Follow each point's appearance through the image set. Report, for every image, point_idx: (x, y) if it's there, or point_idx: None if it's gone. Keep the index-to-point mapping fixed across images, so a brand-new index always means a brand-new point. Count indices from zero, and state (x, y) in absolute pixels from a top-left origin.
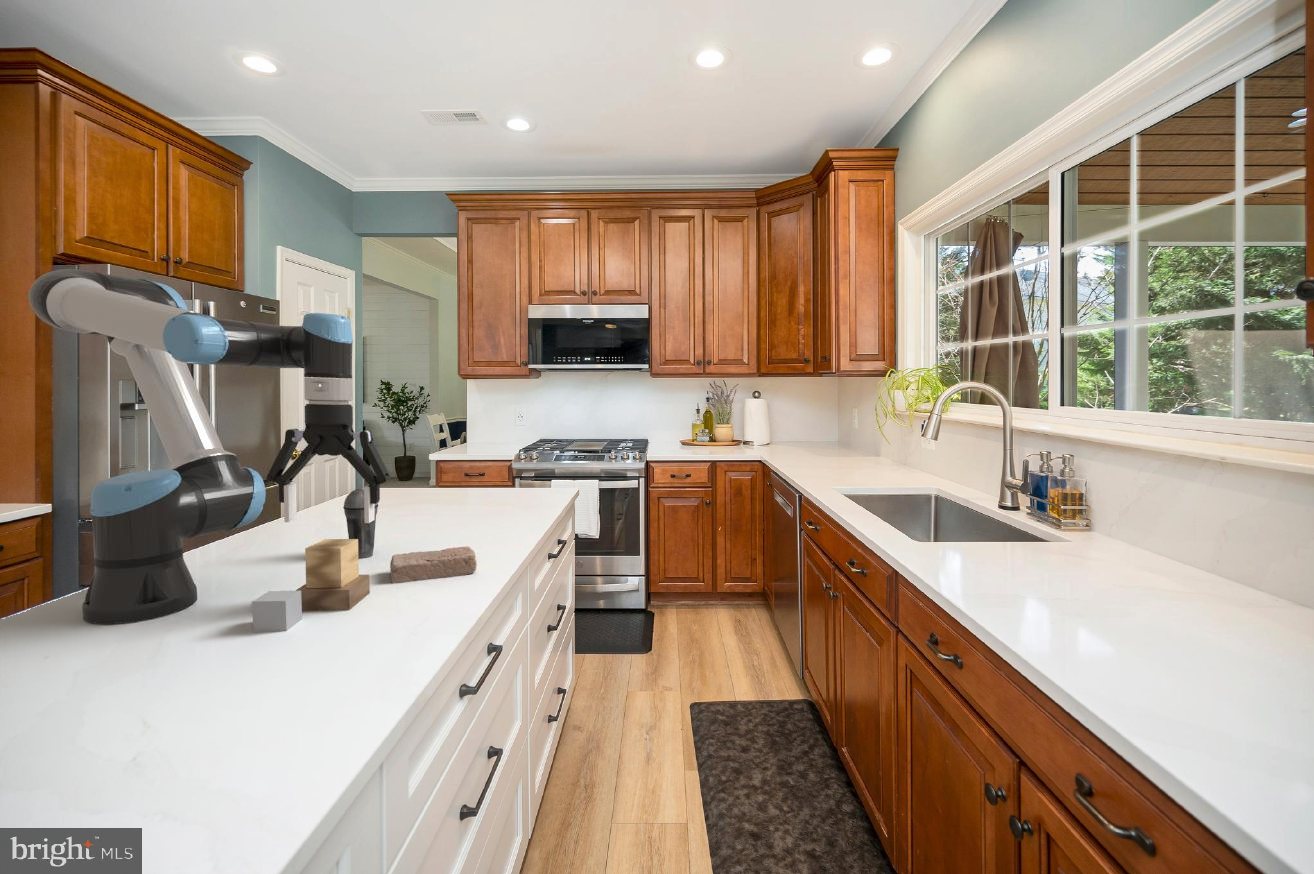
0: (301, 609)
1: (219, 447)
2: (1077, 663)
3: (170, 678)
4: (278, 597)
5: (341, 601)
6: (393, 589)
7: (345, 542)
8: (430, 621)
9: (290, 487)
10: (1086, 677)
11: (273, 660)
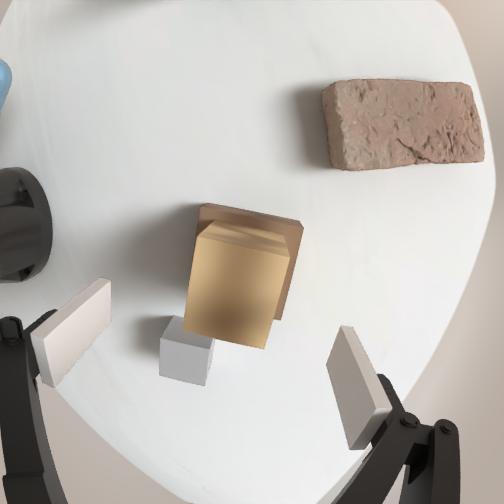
0: None
1: None
2: None
3: (156, 425)
4: (188, 371)
5: None
6: (339, 209)
7: (263, 291)
8: (386, 364)
9: (56, 371)
10: None
11: (228, 422)
